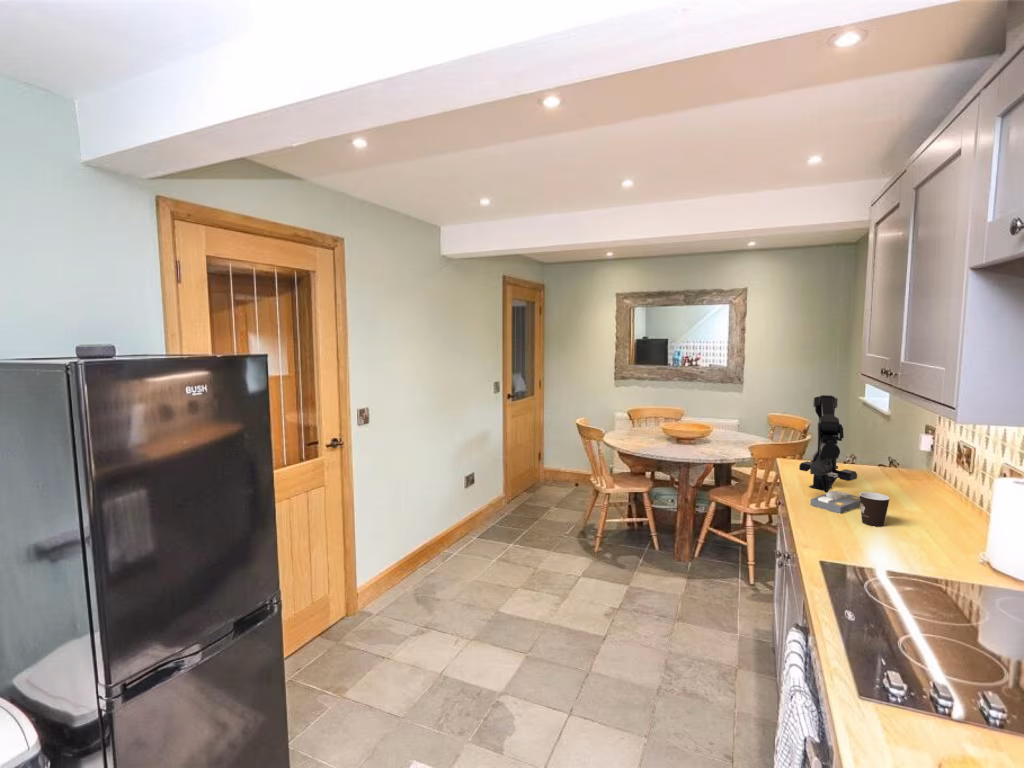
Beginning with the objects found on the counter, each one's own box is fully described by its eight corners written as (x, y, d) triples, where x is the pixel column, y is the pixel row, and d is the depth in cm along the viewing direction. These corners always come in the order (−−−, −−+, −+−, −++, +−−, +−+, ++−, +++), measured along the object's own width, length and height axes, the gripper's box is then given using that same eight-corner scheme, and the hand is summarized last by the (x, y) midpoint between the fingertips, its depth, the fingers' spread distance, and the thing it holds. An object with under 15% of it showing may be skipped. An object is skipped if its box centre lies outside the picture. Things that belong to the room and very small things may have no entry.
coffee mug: (887, 530, 174) (889, 501, 173) (857, 524, 179) (858, 497, 178) (888, 519, 183) (890, 492, 182) (859, 514, 188) (860, 488, 187)
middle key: (831, 497, 203) (831, 490, 202) (841, 500, 199) (841, 493, 199) (826, 499, 201) (826, 492, 200) (836, 502, 197) (836, 494, 197)
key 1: (823, 503, 200) (823, 496, 199) (833, 506, 197) (833, 499, 196) (817, 505, 198) (818, 498, 198) (827, 508, 195) (828, 500, 194)
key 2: (838, 498, 206) (839, 491, 205) (849, 500, 202) (849, 493, 202) (833, 500, 204) (834, 492, 203) (844, 502, 200) (844, 495, 200)
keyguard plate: (835, 496, 208) (835, 490, 208) (864, 504, 199) (865, 497, 198) (810, 505, 199) (810, 498, 199) (840, 513, 190) (840, 506, 189)
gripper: (791, 451, 199) (790, 489, 200) (842, 461, 183) (840, 503, 184) (808, 447, 204) (806, 484, 206) (858, 456, 188) (856, 497, 190)
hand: (826, 492), depth 196 cm, fingers closed
